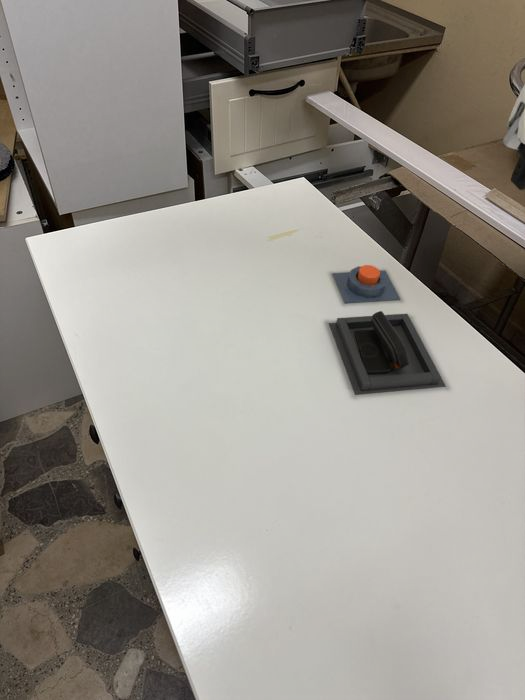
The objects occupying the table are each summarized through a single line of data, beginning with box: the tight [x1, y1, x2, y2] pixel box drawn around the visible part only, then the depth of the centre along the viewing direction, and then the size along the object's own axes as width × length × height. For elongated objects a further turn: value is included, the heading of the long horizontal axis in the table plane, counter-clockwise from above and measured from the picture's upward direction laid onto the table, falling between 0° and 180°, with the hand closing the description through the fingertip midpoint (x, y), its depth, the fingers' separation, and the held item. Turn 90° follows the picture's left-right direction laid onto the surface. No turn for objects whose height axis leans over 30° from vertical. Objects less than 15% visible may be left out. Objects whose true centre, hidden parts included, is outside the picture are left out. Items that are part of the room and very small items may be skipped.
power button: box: [357, 264, 381, 285], centre depth 90 cm, size 4×4×2 cm
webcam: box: [354, 310, 409, 373], centre depth 78 cm, size 9×6×6 cm
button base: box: [331, 265, 401, 304], centre depth 91 cm, size 10×8×3 cm
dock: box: [328, 313, 447, 396], centre depth 80 cm, size 14×15×2 cm
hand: (520, 185), depth 77 cm, fingers closed
